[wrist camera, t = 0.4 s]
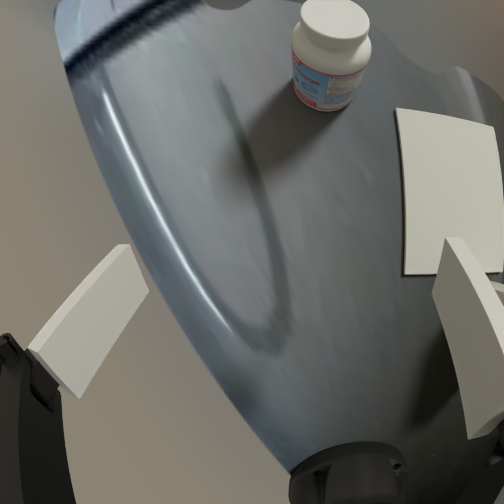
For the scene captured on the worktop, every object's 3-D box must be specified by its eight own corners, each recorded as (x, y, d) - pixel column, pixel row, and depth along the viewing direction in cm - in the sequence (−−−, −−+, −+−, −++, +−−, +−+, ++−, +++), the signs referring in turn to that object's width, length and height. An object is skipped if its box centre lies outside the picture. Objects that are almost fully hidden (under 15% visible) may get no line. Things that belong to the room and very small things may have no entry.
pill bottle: (284, 72, 25) (274, -3, 14) (339, 58, 24) (352, -15, 13) (307, 121, 25) (311, 55, 14) (365, 105, 24) (397, 40, 13)
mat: (500, 271, 22) (502, 271, 22) (403, 273, 24) (405, 274, 24) (491, 128, 21) (493, 127, 21) (395, 109, 23) (396, 107, 23)
